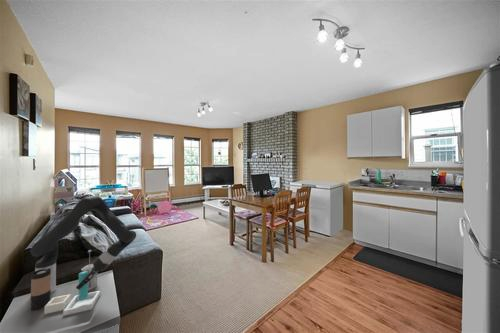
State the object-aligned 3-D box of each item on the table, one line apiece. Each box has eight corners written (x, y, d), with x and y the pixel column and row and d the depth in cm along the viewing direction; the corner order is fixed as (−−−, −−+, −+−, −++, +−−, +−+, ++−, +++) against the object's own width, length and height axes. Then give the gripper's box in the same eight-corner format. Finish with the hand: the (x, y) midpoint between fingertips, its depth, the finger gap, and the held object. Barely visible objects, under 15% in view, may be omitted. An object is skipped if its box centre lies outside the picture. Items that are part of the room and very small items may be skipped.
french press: (98, 282, 133) (98, 246, 134) (99, 289, 125) (100, 250, 125) (79, 288, 126) (79, 250, 127) (79, 296, 118) (79, 255, 119)
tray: (63, 318, 100) (63, 311, 101) (75, 301, 113) (75, 295, 113) (91, 311, 105) (91, 304, 105) (100, 296, 118) (100, 290, 118)
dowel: (77, 301, 107) (77, 275, 107) (80, 296, 110) (80, 272, 111) (86, 299, 108) (86, 273, 109) (89, 294, 112) (89, 270, 112)
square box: (44, 316, 102) (44, 306, 102) (52, 306, 109) (52, 297, 110) (63, 311, 105) (64, 302, 105) (70, 302, 113) (70, 293, 113)
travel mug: (32, 314, 104) (32, 276, 104) (28, 309, 108) (29, 272, 108) (52, 305, 110) (52, 270, 111) (48, 301, 114) (48, 267, 115)
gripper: (102, 251, 120) (76, 277, 114) (96, 260, 107) (67, 289, 101) (112, 258, 122) (88, 283, 116) (108, 267, 110) (80, 296, 103)
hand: (78, 286), depth 109 cm, fingers closed on dowel, 4 cm apart
